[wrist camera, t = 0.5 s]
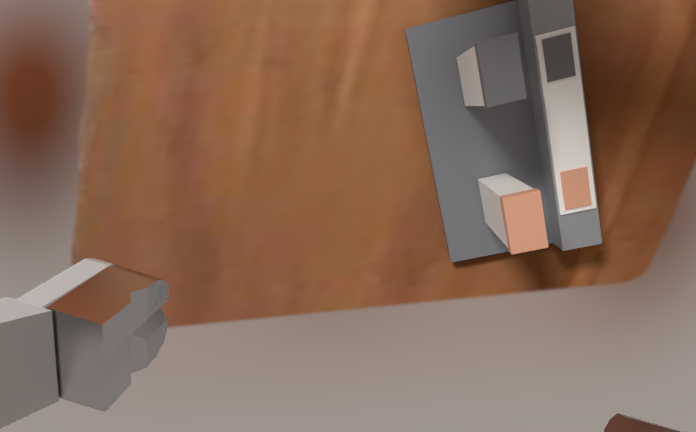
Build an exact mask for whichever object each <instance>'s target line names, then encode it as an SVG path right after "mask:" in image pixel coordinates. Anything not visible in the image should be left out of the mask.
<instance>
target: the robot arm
mask: <svg viewBox="0 0 696 432" xmlns="http://www.w3.org/2000/svg"><path fill="white" fill-rule="evenodd" d="M166 301H168V284H167V283H166V282H165V281H164V280H163V279H159V278H156V277H153V276H150V275H147V274H144V273H141V272H137V271H134V270H131V269H128V268H125V267H122V266H119V265H114V264H112V263H108V262H105V261H102V260H98V259H95V258H86V259H84V260H82V261H80V262H78V263H77V264H75V265H73V266H72V267H70V268H68V269H67V270H65V271H63V272H62V273H60V274H58V275H57V276H55V277H53V278H51V279H50V280H48V281H46V282H45V283H43V284H41V285H40V286H38V287H36V288H34V289H33V290H32V291H29V292H28V293H26V294H25V295H23V296H21V297H19V298H17V299H14V298H10V297H5V298H0V428H2V427H4V426H6V425H9V424H11V423H13V422H15V421H17V420H19V419H21V418H23V417H26V416H28V415H30V414H32V413H34V412H36V411H38V410H40V409H43V408H45V407H47V406H49V405H51V404H53V403H55V402H57V401H59V398H61V399H64V400H68V401H71V402H74V403H78V404H81V405H84V406H88V407H91V408H94V409H97V410H101V411H106V410H107V409H108V408H109V407H110V406H111V405H112V404H113V403H114V402H115V401H116V400H117V399H118V398H119V396H120V395H121V394H122V393H123V392H124V391H125V390H126V389H127V388H128V387H129V386H130V384H131V373H134V372H136V371H139V370H141V369H144V368H146V367H147V366H148V365H149V364H150V363H151V362H152V361H153V360H154V358H155V357H156V356H157V354H158V352H159V350H160V348H161V346H162V345H163V343H164V339H165V334H166V331H167V318H166V316H165V315H164V313H163V311H162V310H161V308H160V307H161V306H162V305H163V304H164V303H165V302H166ZM604 432H685V431H677V430H674V429H671V428H667V427H664V426H660V425H657V424H653V423H650V422H646V421H643V420H640V419H636V418H633V417H629V416H626V415H622V414H619V413H618V414H616V415H615V416H614V417H612V418H611V419H610V421H609V422H608V424H607V426H606V428H605V429H604Z"/></svg>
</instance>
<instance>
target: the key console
mask: <svg viewBox="0 0 696 432" xmlns="http://www.w3.org/2000/svg"><path fill="white" fill-rule="evenodd" d="M513 33H517V34H518V41H519V48H520V55H521V62H522V69H523V75H524V82H525V89H526V96H527V99H522V100H518V101H514V102H510V103H505V104H501V105H497V106H493V107H488V108H485V107H484V106H465V103H464V98H463V92H462V86H461V80H460V75H459V69H458V63H457V58H456V57H458V56H459V55H461V54H463V53H464V52H466V51H467V50H469V49H470V48H472V47H474V44H475V43H477V42H481V41H485V40H489V39H493V38H497V37H501V36H505V35H509V34H513ZM405 35H406V40H407V45H408V50H409V55H410V60H411V65H412V71H413V76H414V81H415V86H416V91H417V96H418V101H419V106H420V111H421V116H422V121H423V126H424V132H425V137H426V142H427V147H428V152H429V157H430V162H431V167H432V172H433V177H434V182H435V187H436V192H437V198H438V203H439V208H440V213H441V218H442V223H443V228H444V233H445V238H446V243H447V248H448V253H449V258H450V261H451V263H452V262H457V261H462V260H467V259H472V258H477V257H482V256H488V255H493V254H498V253H503V252H508V248H507V246H506V245H505V244H504V243H503V242H502V241H501V240H500V238H499V237H498V236H497V235H496V234H495V233H494V232H493V230H492V229H491V228H490V227H489V226H488V225H487V224H486V222H485V217H484V212H483V206H482V200H481V194H480V189H479V183H478V179H480V178H485V177H490V176H494V175H499V174H503V173H506V174H508V175H510V176H512V177H514V178H515V179H517V180H519V181H521V182H523V183H524V184H526V185H528V186H530V187H532V188H533V189H535V188H537V189H539V190H540V192H541V199H542V206H543V212H544V219H545V226H546V233H547V240H548V244H549V243H554V244H555V245H556V246H557V247H559V248H560V249H561V250H562V251H566V250H571V249H576V248H581V247H586V246H592V245H597V244H602V238H601V230H600V222H599V213H598V205H597V197H596V188H595V180H594V172H593V163H592V155H591V146H590V138H589V130H588V121H587V113H586V105H585V96H584V88H583V80H582V71H581V63H580V54H579V46H578V38H577V29H576V21H575V13H574V4H573V0H514V1H510V2H506V3H503V4H499V5H495V6H491V7H487V8H483V9H480V10H476V11H472V12H468V13H464V14H461V15H457V16H453V17H449V18H445V19H441V20H438V21H434V22H430V23H426V24H422V25H419V26H415V27H411V28H407V29H405Z"/></svg>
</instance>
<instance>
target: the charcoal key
mask: <svg viewBox="0 0 696 432" xmlns="http://www.w3.org/2000/svg"><path fill="white" fill-rule="evenodd" d="M456 58H457V63H458V69H459V75H460V80H461V86H462V92H463V98H464V103H465V106H484V107H485V108H488V107H493V106H497V105H501V104H505V103H510V102H514V101H518V100H522V99H527V96H526V89H525V82H524V75H523V69H522V62H521V55H520V48H519V41H518V34H517V33H513V34H509V35H505V36H501V37H497V38H493V39H489V40H485V41H481V42H477V43H475V44H474V47H472V48H470V49H469V50H467V51H466V52H464V53H463V54H461V55H459V56H458V57H456Z"/></svg>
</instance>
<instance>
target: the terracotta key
mask: <svg viewBox="0 0 696 432" xmlns="http://www.w3.org/2000/svg"><path fill="white" fill-rule="evenodd" d="M478 183H479V189H480V194H481V200H482V206H483V212H484V217H485V222H486V224H487V225H488V226H489V227H490V228H491V229H492V230H493V232H494V233H495V234H496V235H497V236H498V237H499V238H500V240H501V241H502V242H503V243H504V244H505V245H506V246H507V248H508V251H509V252H510V253H511V255H512V254H517V253H522V252H528V251H533V250H538V249H543V248H548V247H549V246H548V240H547V233H546V226H545V219H544V212H543V206H542V199H541V192H540V190H539V189H537V188H535V189H533V188H532V187H530V186H528V185H526V184H524V183H523V182H521V181H519V180H517V179H515V178H514V177H512V176H510V175H508V174H506V173H503V174H499V175H494V176H490V177H485V178H480V179H478Z"/></svg>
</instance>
